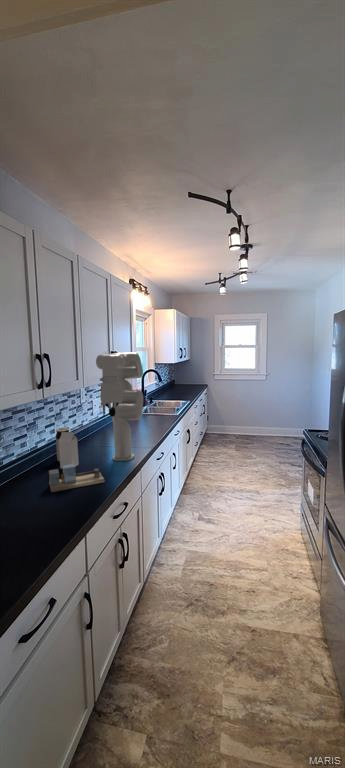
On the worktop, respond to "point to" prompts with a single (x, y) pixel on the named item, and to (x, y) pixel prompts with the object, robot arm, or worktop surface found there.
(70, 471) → the sleeve
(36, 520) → the worktop surface
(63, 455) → the milk carton
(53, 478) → the slider mechanism
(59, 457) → the travel mug
